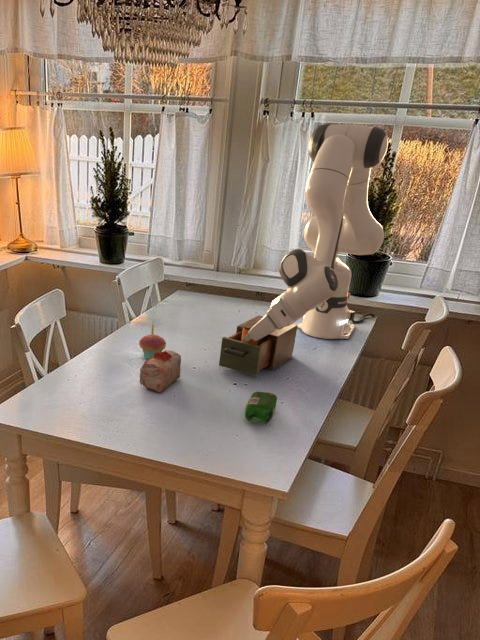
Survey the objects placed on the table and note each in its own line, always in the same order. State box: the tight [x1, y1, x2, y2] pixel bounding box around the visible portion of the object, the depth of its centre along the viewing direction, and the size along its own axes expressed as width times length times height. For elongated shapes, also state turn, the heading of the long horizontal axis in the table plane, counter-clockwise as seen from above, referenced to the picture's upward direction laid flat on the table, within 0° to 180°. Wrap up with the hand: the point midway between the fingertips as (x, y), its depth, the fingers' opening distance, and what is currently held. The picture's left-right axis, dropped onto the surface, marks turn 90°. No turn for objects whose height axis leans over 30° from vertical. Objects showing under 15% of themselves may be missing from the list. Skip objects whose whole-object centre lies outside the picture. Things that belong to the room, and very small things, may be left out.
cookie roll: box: [241, 323, 258, 345], centre depth 198 cm, size 5×5×8 cm
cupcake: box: [138, 322, 167, 360], centre depth 205 cm, size 9×8×12 cm
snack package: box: [244, 390, 278, 424], centre depth 173 cm, size 7×16×5 cm, turn 161°
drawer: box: [218, 330, 274, 377], centre depth 199 cm, size 18×13×9 cm
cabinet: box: [235, 315, 299, 371], centre depth 208 cm, size 15×14×11 cm
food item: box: [139, 349, 182, 393], centre depth 187 cm, size 14×8×10 cm, turn 151°
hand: (248, 336), depth 198 cm, fingers closed on cookie roll, 5 cm apart
